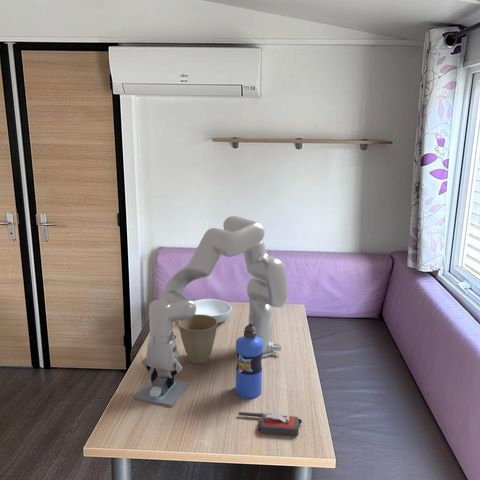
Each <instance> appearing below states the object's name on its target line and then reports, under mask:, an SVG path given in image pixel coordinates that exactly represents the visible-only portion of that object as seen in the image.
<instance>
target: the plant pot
mask: <svg viewBox="0 0 480 480" xmlns="http://www.w3.org/2000/svg"><path fill="white" fill-rule="evenodd" d="M217 328H218V323H217V319H215V318H214V317H212V316H209V315H202V314H197V315H193V316H192V317H191V318H190V319H187V320H182V321H178V329H179V333H180V337H181V342H182V344H183V348H184V351H185V354H186V357H187V358H188V361H189V362H190V363H192V364H194V365H195V364H196V365H200V364H204V363H207V361H209V359H210V356H211V352H212V350H213V346H214V343H215V338H216V334H217Z"/></svg>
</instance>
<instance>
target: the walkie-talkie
mask: <svg viewBox="0 0 480 480" xmlns="http://www.w3.org/2000/svg"><path fill="white" fill-rule="evenodd" d="M238 416H244V417H255V418H259V422H258V430H260V433H261V434H264V435H272V436H273V435H275V436H286V437H287V436H289V437H299V427H300V425H301V424H302V423H303V421H302V419H301V418H299V416H295V415H294V416H292V415H282V414H280V413H278V412H276V411H275V412H274V411H267V410H266V411H265V410H263V412H247V411H246V412H245V411H239V412H238Z"/></svg>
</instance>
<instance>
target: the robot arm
mask: <svg viewBox="0 0 480 480" xmlns="http://www.w3.org/2000/svg"><path fill="white" fill-rule="evenodd" d="M264 237H265V228H264V226H263V225H262V224H261V223H260V222H257V221H255V220H251V219H247V218H245V217H244V218H243V217H241V216H238V215H237V216H236V215H231V216H228V217H227V218H225V220H224V221H223V228H219V227H218V228H217V227H211V228H209V229H207V230H206V231H205V233H203V236H202V238H201V240H200V242H199V243H198V246H197V247H196V250H195V251H194V253H193V255H192V256H191V259H190V260H189V262H188V263H187V265H185V266H183V267H182V268H181V269H179V270H178V271H177V272H176V273H175V274H173V275H172V276H171V277H170V279H169V280H168V282H167V283H166V286H165V287H164V289H163V290H162V293H161V296H160V299H156V300H152V301H151V302H150V303H149V306H148V313H149V314H148V316H149V339H148V340H147V346H146V357H144V359H143V360H142V361H141V364H142V365H143V366H144V367H145V368H146V370H147V371H148V373H149V375H150V380H151V381H152V382H153V381H154V380H155V379H156V378H157V377H158V375H159V374H158V373H159V372H158V370H165V371H166V373H168V376H169V377H168V378H167V388H169V389H170V387H171V386H172V385H173V384H174V380H175V376H176V375H177V374H178V373H180V372H181V371H182V370H183V369H184V367H183V366H182V365H181V363H180V362H179V354H178V351H179V350H178V346H177V342H176V339H177V335H175V334H174V331H173V322H179V321H182V320H187V319H190V318H191V317H192V316H193V315H194V314H195V312H196V305H195V303H194V302H193V301H194V300H193V299H191V298H189V297H187V296H185V295H184V294H182V293H183V291H184V290H185V288H186V286H188V285H190V283H191V282H193V281H196V280H199V279H203V278H207V277H209V276H211V274H212V273H213V270H214V269H215V266H217V263H218V261H219V259H220V257H221V256H224V257H228V258H231V257H235V256H238V255H240V254H243V257H244V262H245V267H246V271H247V273H248V274H249V275H250V276H252V277H251V278H250V279H249V281H248V283H247V285H246V293H247V299H248V324H252V325H253V326H254V327H255V328H256V337H259V338H261V339H262V340H263V342H264V345H263V353H262V358H268V357H271V356H273V355H274V354H275V352H276V351H277V352H282V346H281V343H275V341H274V339H273V337H272V336H273V314H274V313H273V312H274V310H273V307H274V308H282V307H284V306H285V305H286V304H287V302H288V299H289V286H288V285H289V284H288V279H287V272H286V268H285V267H286V266H285V265H284V263H283V262H282V261H281V260H280V259H279V258H276V257H274V256H271V255H269V254H268V253H267V250H266V246H265V242H264ZM157 369H158V370H157Z"/></svg>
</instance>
